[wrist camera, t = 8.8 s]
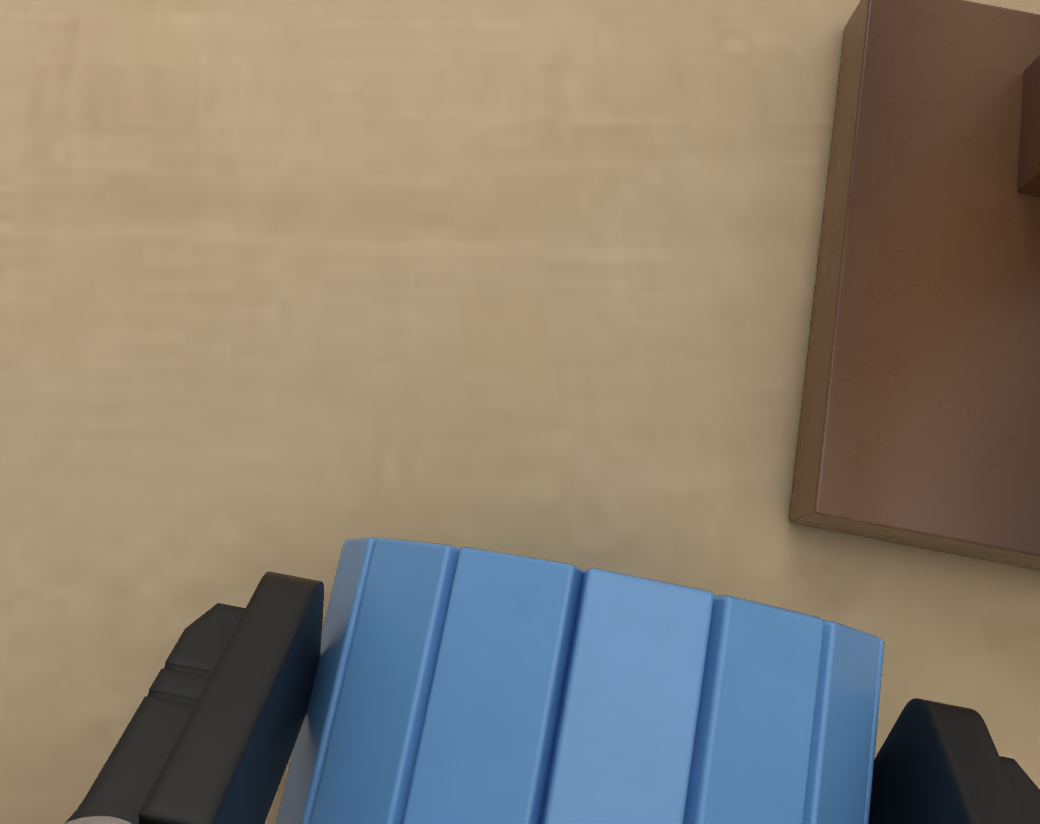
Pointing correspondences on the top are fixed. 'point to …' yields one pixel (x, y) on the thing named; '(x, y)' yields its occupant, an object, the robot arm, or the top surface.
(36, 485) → the top surface
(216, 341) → the top surface
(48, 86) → the top surface
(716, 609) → the tape roll
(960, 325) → the tape stand
